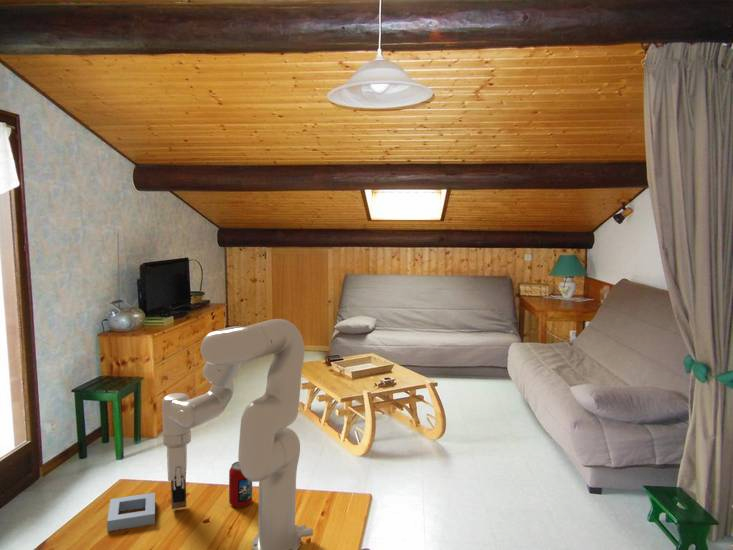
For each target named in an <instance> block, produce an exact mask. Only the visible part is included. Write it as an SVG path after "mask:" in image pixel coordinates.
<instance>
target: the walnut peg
mask: <svg viewBox="0 0 733 550" xmlns="http://www.w3.org/2000/svg"><path fill="white" fill-rule="evenodd" d="M180 469H181V467H180ZM181 477H182V476H181ZM175 478H176V477H175ZM183 480H184V487H185V501H183V502H177V503H173V489H174V485H173V481H170V495H171V497H170V501H171V502H170V503H171V510H176V509H182V508H187V477H186V478H185V479H183ZM181 482H182V480H181ZM175 484H176V481H175Z"/></svg>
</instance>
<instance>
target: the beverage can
mask: <svg viewBox="0 0 733 550" xmlns="http://www.w3.org/2000/svg"><path fill="white" fill-rule="evenodd" d="M228 473H229V474H228V497H229V498H228V502H229V504H230V505H231V506H232V507H235V508H244V507H246V505H247V506H248V505H249V504H251V503H252V501H253V481H250V480H248V479H247V478H245V476H244V475H243V474H242V472H241V470H240V467H239V461H235V462H233V463H232V464H231V467H230V469H229V470H228Z"/></svg>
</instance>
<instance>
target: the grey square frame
mask: <svg viewBox="0 0 733 550" xmlns="http://www.w3.org/2000/svg"><path fill="white" fill-rule="evenodd" d="M134 509H135V510H138V511H135V510H134ZM140 509H145V510H140ZM126 510H128V511H133V512H127V511H126ZM139 510H140V511H139ZM120 511H121V512H126V513H121V512H120ZM119 513H120V514H119ZM106 519H107V520H106V531H108V532H113V530H114V531H119V530H118V529H121V530H125V529H126V528H127V529H131V528H137V527H138V528H139V527H145V526H152V525H155V524H156V493H155V492H151V493H149V492H148V493H143V494H135V495H130V496H123V497H122V496H121V497H115V498H110V501H109V508H108V514H107V517H106Z"/></svg>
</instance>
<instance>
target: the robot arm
mask: <svg viewBox="0 0 733 550" xmlns="http://www.w3.org/2000/svg"><path fill="white" fill-rule="evenodd" d="M200 355H201V357H202V359H203V361H205V364H204V366H203V367H202V374H203V377H204V378H205V380H206V381H208V383H210V384H211V386H210V388H209V390H208V391H207V392H206V393H204V394H201V395H198V396H195V397H193V398H191V399H190V396H189V395H188V394H186V393H184V392H175V393H169V394H168V395H167V394H166V395H165V396H164V397H163V398H162V402H161V412H162V416H161V417H162V440H163V441H162V443H163V446H165V447H166V464H167V468H166V469H167V481H168V482H171V481H173V485H174V489H173V503H177V502H183V501H185V487H184V480H183V479H185V478H186V479H187V468H188V467H187V462H188V459H187V457H188V456H187V455H188V453H187V450H188V448H187V446H188V444H190V443H191V442H192V438H191V437H192V435H191V434H192V433H191V432H192V431H191V430H192V429H195V428H197V427H200V426H201V425H204V424H206V423H207V422H209V421H212V420H214V419H216V418H218V417H220V415H221V414H222V413H224V411H225V410H226V408H227V406H228V405H229V403H230V401H231V400H232V398H233V395H234V392H235V391H234V390H235V389H234V388H235V387H234V386H235V385H234V378H235V377H236V375H237V373H238V371H239V370H240V368H241V366H242V365H243V363H249V362H253V361H257V360H259V359H262V358H265V357H268V356H270V355H273V359H272V361H271V363H270V365H269V369H268V371H267V376H266V377H267V378H266V379H267V380H266V387H265V392H264V394H263V395H262V396H261V397H258V398H256V399H254V400H253V401H251V402H249V404H248V405H247V406H246V407H245V408H244V410H243V412H242V414H241V419H240V427H239V428H240V429H239V441H238V452H237V453H238V454H237V458H238V461H239V467H240V470H241V472H242V474H243V475H244V476H245V478H247V479H248V480H250V481H252V483H253V482H256V483H258V526H257V527H258V531H257V532H258V533H257V534H256V535H255V536H254V538H253V540H252V541H251V548H252V550H297V549H298V548H299V546H300V547H301V544H300V543H302V542H301V539H302V538H305V537H310V536H311V537H312V536H314V532H313V527H307V526H306V524H302V525H301V524H300V525H296V503H297V502H296V498H297V497H296V495H297V471H298V466H299V461H300V454H301V442H300V438H299V436H298V435H297V433H296V431H294V430H293V429H291V428H290V427H289V426H290V425H292V424H293V423H294V422H295V421H296V420H297V418H298V414H299V409H300V397H301V396H300V395H301V384H302V372H303V365H304V359H305V343H304V338H303V335H302V334H301V332H300V330H299V328H298V327H297V326H296V325H295V324H293V323H292V322H290V321H289V320H287V319H284V318H273V319H268V320H265V321H260V322H258V323H254V324H253V323H252V324H249V325H246V326H239V325H235V326H234V325H233V326H229V327H225V328H221V329H218V330H213V331H211V332H209V333H207V334H206V335H205V336H204V338H203V340H202V341H201V345H200ZM238 461H237V462H238ZM180 467H181V469H180ZM181 476H182V477H181ZM175 477H176V478H175ZM181 480H182V482H181ZM175 481H176V484H175ZM299 549H300V548H299ZM299 549H298V550H299Z"/></svg>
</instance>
